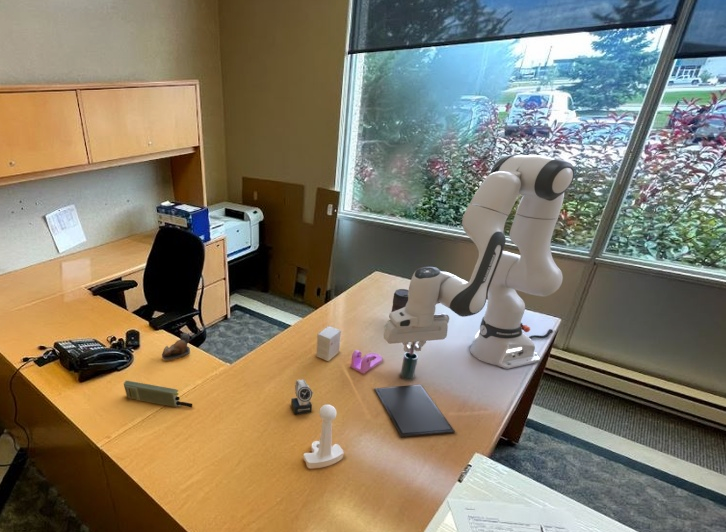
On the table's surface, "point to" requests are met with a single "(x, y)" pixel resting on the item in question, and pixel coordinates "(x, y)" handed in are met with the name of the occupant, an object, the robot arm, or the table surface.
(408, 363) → the pen cup
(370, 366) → the bracket
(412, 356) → the stylus
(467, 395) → the table surface
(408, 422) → the tablet
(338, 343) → the small box
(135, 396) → the handheld radio
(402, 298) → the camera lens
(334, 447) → the joystick
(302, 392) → the watch
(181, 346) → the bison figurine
